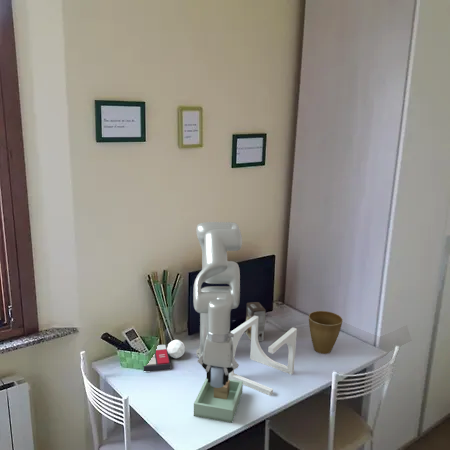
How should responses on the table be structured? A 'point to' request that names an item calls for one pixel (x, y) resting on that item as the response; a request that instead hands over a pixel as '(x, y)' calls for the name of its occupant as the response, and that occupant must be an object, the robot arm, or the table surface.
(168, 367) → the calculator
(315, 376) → the table surface
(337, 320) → the plant pot
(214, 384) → the cylinder
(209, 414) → the tote
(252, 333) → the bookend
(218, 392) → the cube
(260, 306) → the coffee box
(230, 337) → the robot arm
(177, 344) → the geometric ball
